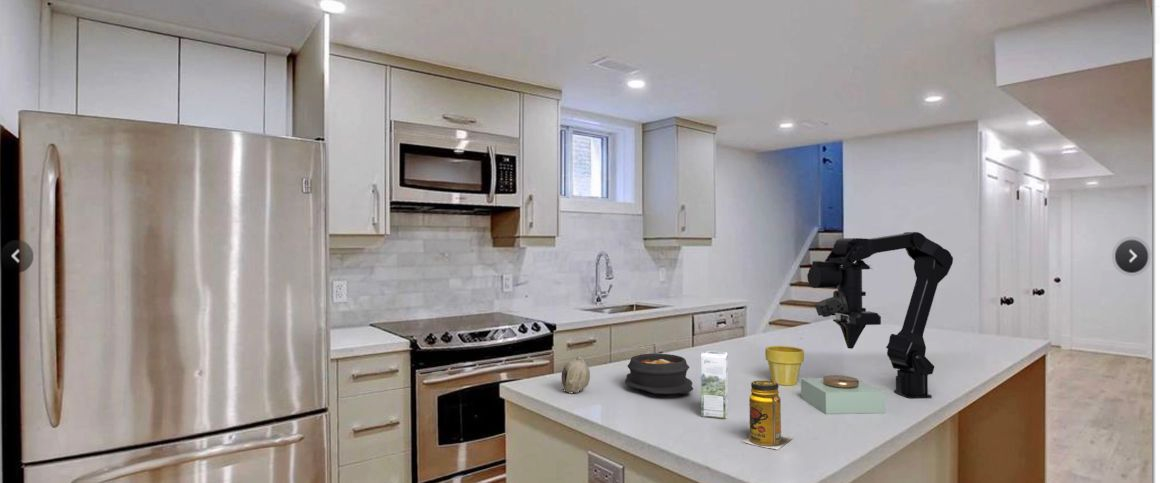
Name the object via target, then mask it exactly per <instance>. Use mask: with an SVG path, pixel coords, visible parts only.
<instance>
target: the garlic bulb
mask: <svg viewBox="0 0 1160 483" xmlns="http://www.w3.org/2000/svg"><path fill="white" fill-rule="evenodd" d="M590 378H591V374H590V368H589V366H588V365H587V362H586V361H585V360H584V358H583V357H581V356H577V357H576V358H575V359H574V360H572V361H568V362H567V363H566V364H565V365H564V366H563V369H562V371H561V384H562V386H563V389H564V390H565V391H566V392H565V393H567V392H574V393H573V394H577V393H580V392H579V391H581V392H583V391H584V389H585V388H587V387H588V386H589V384H590ZM564 390H563V391H564ZM582 390H583V391H582Z"/></svg>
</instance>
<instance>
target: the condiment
mask: <svg viewBox="0 0 1160 483" xmlns="http://www.w3.org/2000/svg"><path fill="white" fill-rule="evenodd" d="M779 393H780V392H779V385H778V384H777V383H775V382H772V380H771V381H770V380H763V379H762V380H754V381H752V382H751V389H750V395H749V403H748V404H749V437H748V438H746V439H745V440H743V441H742V443H746V444H750V445H753V446H757V447H763V448H766V449H767V448H768V449H772V450H777V451H778V450H779V449H781V448H782V447H784V446H785V445H786V444H787V443H789V442H790V441H791V440H792V439H793V437H789V436H784V435H783V436H782V417H781V415H782V413H781V411H782V409H781V405H782V404H781V402H782V401H781V397H780V395H779Z"/></svg>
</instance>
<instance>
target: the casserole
mask: <svg viewBox="0 0 1160 483" xmlns="http://www.w3.org/2000/svg"><path fill="white" fill-rule="evenodd" d="M627 368H628V369H629V371H630V373H628V374H626V378H625V380H624V383H625V385H627V386H629V387H631V388H634V389H637V390H639V391H641V392H644V391H645V393H649V392H650V394H655V395H656V394H657V395H676V394H685V393H689V392H692V391H693V390H694V387H693V386H692V385H693V381H692V380H691V379H690V378H688V377H686V376H687V372H688V370H689V369H690V366H689V364H688V363H687V360H686V358H685V357H683V356H680V355H676V354H668V353H643V354H637V355H634V356H632V357H631V358H630V362H629V363H628V364H627Z"/></svg>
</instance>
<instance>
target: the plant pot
mask: <svg viewBox="0 0 1160 483" xmlns="http://www.w3.org/2000/svg"><path fill="white" fill-rule="evenodd" d="M804 350H805V349H803V348H800V347H795V346H788V345H787V346H786V345H770V346H766V347H765V360H766V361H767V364H768V368H769V373H770V378H771V381H772V382H775V383H777V384H778V386H779V385H780V386H788V387H789V386H795V385H797V384H798V378H799V375H800V369H801V365H802V363H804V361H805V360H804V359H805V351H804Z"/></svg>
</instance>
